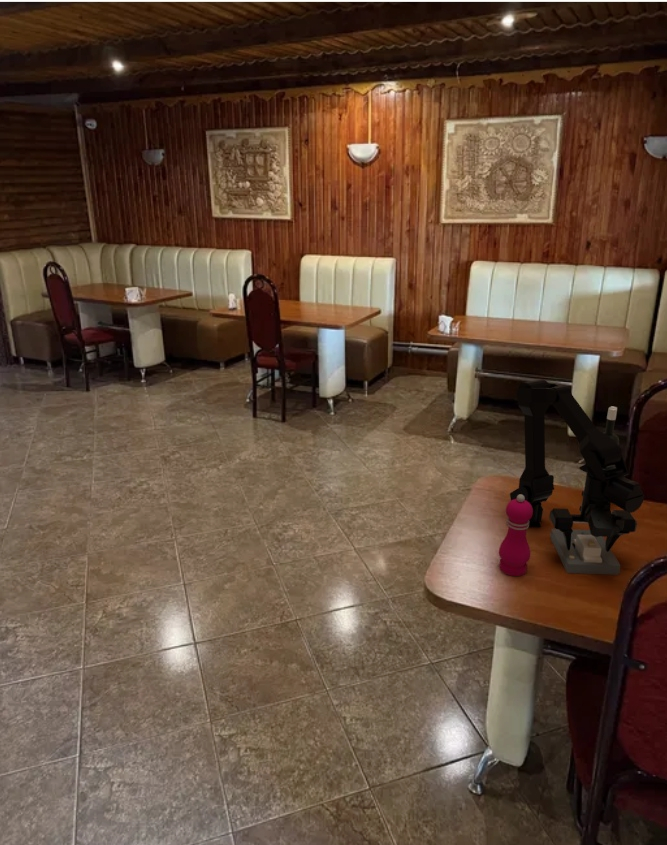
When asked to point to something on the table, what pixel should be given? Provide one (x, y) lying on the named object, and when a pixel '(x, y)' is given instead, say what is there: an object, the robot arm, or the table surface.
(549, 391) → the robot arm
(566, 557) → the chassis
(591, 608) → the table surface
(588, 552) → the servo
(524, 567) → the pepper mill
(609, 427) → the wine bottle
